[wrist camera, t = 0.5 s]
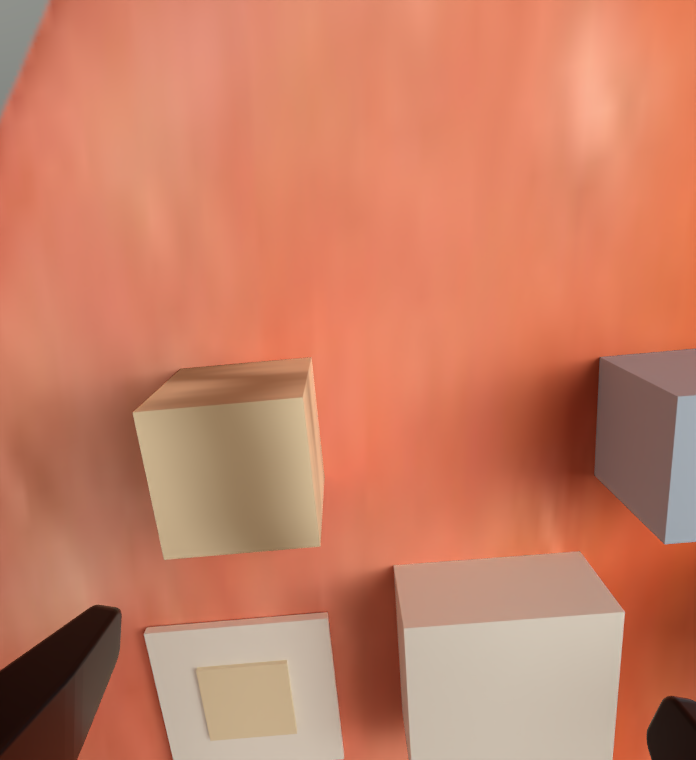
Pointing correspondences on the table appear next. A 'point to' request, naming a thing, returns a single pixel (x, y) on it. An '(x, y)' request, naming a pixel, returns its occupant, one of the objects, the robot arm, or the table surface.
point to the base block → (508, 658)
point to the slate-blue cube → (650, 438)
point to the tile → (248, 688)
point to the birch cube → (234, 459)
